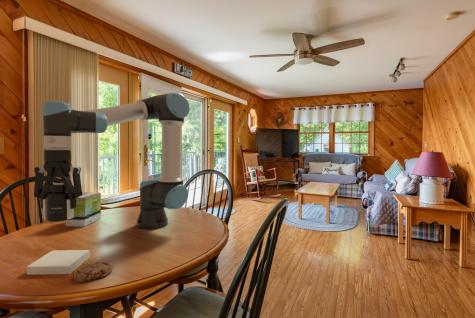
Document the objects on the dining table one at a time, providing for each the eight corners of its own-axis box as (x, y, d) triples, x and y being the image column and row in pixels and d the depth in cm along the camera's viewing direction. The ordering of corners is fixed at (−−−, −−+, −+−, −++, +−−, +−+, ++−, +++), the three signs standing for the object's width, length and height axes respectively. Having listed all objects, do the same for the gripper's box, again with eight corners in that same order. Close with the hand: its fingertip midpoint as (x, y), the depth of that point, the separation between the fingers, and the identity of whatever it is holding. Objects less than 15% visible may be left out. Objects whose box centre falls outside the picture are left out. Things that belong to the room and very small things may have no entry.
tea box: (85, 227, 132) (84, 197, 131) (65, 226, 132) (64, 196, 131) (101, 218, 147) (101, 191, 146) (83, 218, 147) (82, 191, 146)
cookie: (66, 280, 81) (66, 270, 81) (95, 265, 91) (95, 256, 91) (90, 286, 78) (90, 276, 78) (118, 270, 88) (118, 261, 88)
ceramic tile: (90, 256, 98) (89, 249, 98) (69, 273, 85) (69, 266, 85) (52, 257, 97) (52, 250, 97) (26, 274, 84) (26, 266, 84)
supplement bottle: (52, 223, 85) (51, 186, 84) (42, 220, 89) (41, 184, 88) (75, 218, 91) (74, 183, 90) (64, 215, 94) (64, 181, 94)
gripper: (17, 148, 84) (19, 221, 85) (82, 149, 85) (83, 221, 87) (34, 148, 92) (35, 215, 93) (94, 149, 93) (94, 215, 94)
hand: (58, 218), depth 90 cm, fingers closed on supplement bottle, 7 cm apart
